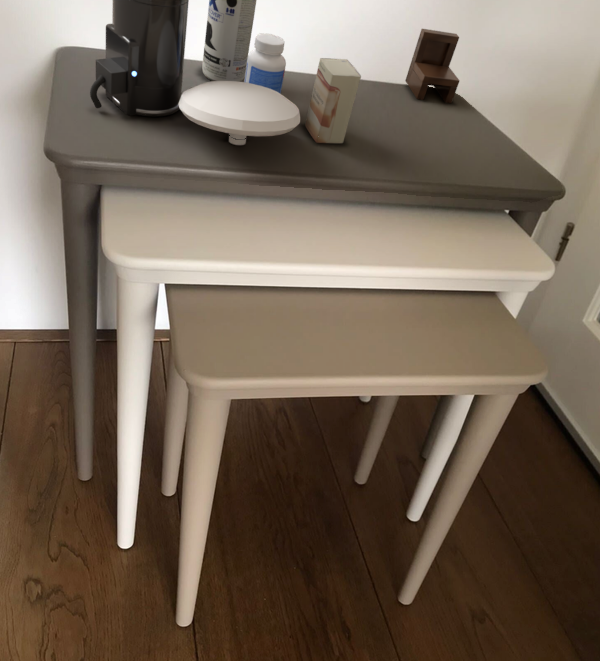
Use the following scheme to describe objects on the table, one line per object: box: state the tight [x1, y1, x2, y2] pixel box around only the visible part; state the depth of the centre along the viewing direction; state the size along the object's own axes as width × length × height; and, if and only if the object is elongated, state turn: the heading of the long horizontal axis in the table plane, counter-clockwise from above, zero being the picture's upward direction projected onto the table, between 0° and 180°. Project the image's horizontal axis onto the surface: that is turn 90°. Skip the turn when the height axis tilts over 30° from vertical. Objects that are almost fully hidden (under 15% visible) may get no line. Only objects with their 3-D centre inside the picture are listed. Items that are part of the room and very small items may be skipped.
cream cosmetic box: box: [304, 57, 362, 144], centre depth 92 cm, size 5×4×10 cm
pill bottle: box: [243, 32, 287, 95], centre depth 94 cm, size 6×5×10 cm
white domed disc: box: [178, 80, 301, 146], centre depth 86 cm, size 16×16×7 cm
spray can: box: [201, 0, 257, 82], centre depth 96 cm, size 7×7×20 cm
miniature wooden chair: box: [404, 28, 460, 104], centre depth 112 cm, size 6×7×9 cm
